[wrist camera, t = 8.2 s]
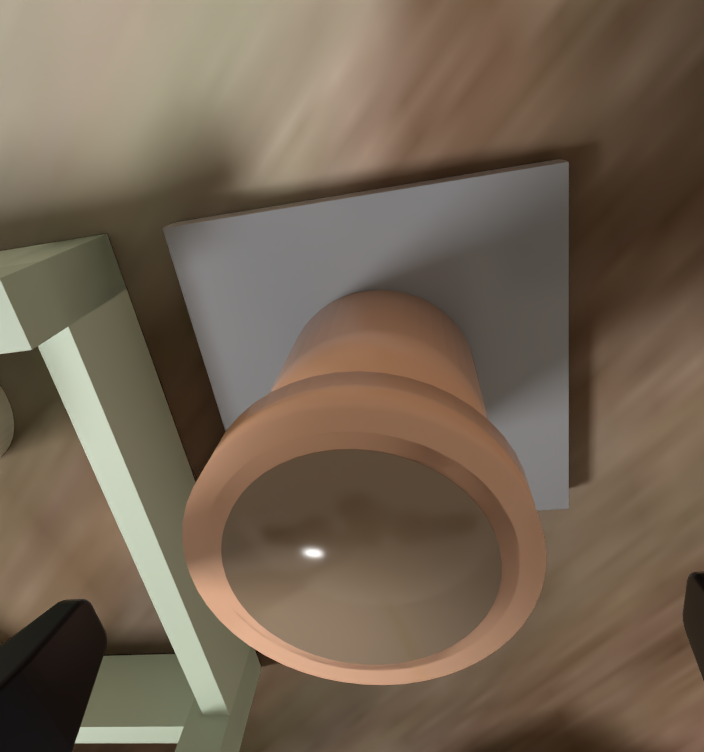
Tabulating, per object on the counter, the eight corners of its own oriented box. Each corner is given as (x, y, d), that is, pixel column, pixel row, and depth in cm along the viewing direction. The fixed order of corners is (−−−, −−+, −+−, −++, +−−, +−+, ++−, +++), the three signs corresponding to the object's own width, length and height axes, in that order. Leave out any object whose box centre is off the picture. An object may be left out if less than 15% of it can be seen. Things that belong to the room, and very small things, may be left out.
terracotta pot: (496, 459, 16) (550, 688, 10) (299, 475, 17) (232, 692, 11) (483, 259, 14) (544, 390, 7) (253, 291, 15) (129, 430, 8)
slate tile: (562, 492, 17) (568, 508, 17) (261, 513, 19) (256, 529, 18) (560, 159, 13) (569, 161, 12) (174, 222, 15) (162, 228, 14)
